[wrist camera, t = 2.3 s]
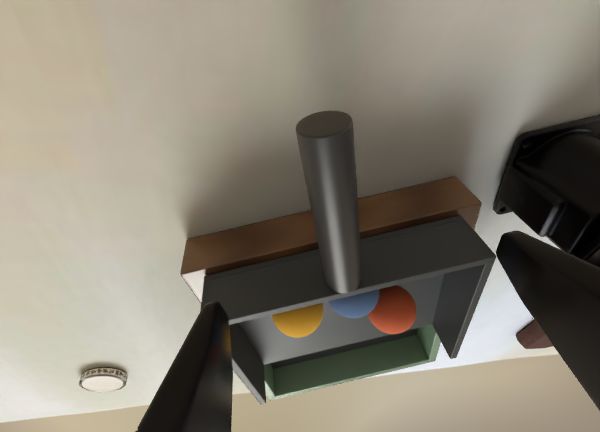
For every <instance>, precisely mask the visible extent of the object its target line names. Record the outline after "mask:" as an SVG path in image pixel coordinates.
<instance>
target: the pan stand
mask: <svg viewBox="0 0 600 432" xmlns="http://www.w3.org/2000/svg"><path fill="white" fill-rule="evenodd" d="M481 204H482V203H481V201H480V200H479V199H478V198H477V197H476V196H475V195H474V194H473V193H472V192H471V191H470V190H469V189H468V188H467V187H466V186H465V185H464V184H463V183H462V182H461V181H460V180H459V179H458V178H457V177H455V176H454V177H450V178H445V179H441V180H437V181H433V182H429V183H424V184H420V185H416V186H412V187H407V188H403V189H399V190H395V191H391V192H386V193H382V194H378V195H374V196H369V197H365V198H361V199H358V215H359V232H360V239H362V238H366V237H370V236H375V235H379V234H383V233H387V232H391V231H396V230H400V229H404V228H408V227H412V226H417V225H421V224H425V223H429V222H434V221H438V220H442V219H446V218H450V217H455V216H459V215H461V216H462V217H463V218H464V220H465V221H466V222H467V223H468V224H469V225H470V226H471V228H472V229H473V230H474V228H475V224H476V221H477V218H478V214H479V211H480V207H481ZM316 249H319V246H318V241H317V236H316V231H315V226H314V221H313V216H312V210H310V211H306V212H302V213H298V214H293V215H289V216H285V217H281V218H277V219H272V220H268V221H264V222H260V223H255V224H251V225H247V226H243V227H239V228H234V229H230V230H226V231H222V232H218V233H213V234H209V235H205V236H201V237H196V238H192V239H188V240H186V246H185V251H184V257H183V262H182V268H181V273H180V274H181V276H182V277H183V279H184V280H185V282H186V283H187V284H188V286H189V287H190V289H191V290H192V291H193V293H194V294H195V296H196V297H197V298H198V300H199V301H200V303H201V302H202V293H203V283H204V276H206V275H210V274H215V273H219V272H223V271H227V270H231V269H236V268H240V267H244V266H248V265H252V264H257V263H261V262H265V261H269V260H274V259H278V258H282V257H286V256H290V255H295V254H299V253H303V252H307V251H311V250H316Z"/></svg>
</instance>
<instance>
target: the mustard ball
mask: <svg viewBox="0 0 600 432" xmlns="http://www.w3.org/2000/svg"><path fill="white" fill-rule="evenodd" d="M322 317H323V303H319V304H315V305H311V306H307V307H302V308H298V309H294V310H290V311H286V312H281V313H277V314H273V315H272V318H273V321H274V323H275V325H276V327H277V328H278V329H279V330H280V331H281V332H282V333H284V334H285V335H287V336H290V337H296V338H299V337H305V336H307V335H309V334H311V333H312V332H314V331H315V330H316V329H317V328H318V326H319V325H320V323H321V321H322Z"/></svg>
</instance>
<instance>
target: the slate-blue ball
mask: <svg viewBox="0 0 600 432" xmlns="http://www.w3.org/2000/svg"><path fill="white" fill-rule="evenodd" d="M378 299H379V289H378V290H374V291H370V292H365V293H361V294H357V295H353V296H349V297H344V298H340V299H336V300H332V301H328V303H329V304H330V306H331V307H332V308H333V310H334V311H335V312H337V313H338V314H340V315H342V316H344V317H347V318H360V317H363V316H365V315H367V314H369V313H370V312H371V311H372V310H373V309H374V308H375V306H376V304H377V302H378Z"/></svg>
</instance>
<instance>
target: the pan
mask: <svg viewBox="0 0 600 432" xmlns="http://www.w3.org/2000/svg"><path fill="white" fill-rule="evenodd" d="M296 134H297V139H298V144H299V149H300V154H301V159H302V165H303V170H304V175H305V180H306V185H307V190H308V195H309V200H310V205H311V210H312V216H313V221H314V226H315V231H316V236H317V241H318V246H319V249H316V250H311V251H307V252H303V253H299V254H295V255H290V256H286V257H282V258H278V259H274V260H269V261H265V262H261V263H257V264H252V265H248V266H244V267H240V268H236V269H231V270H227V271H223V272H219V273H215V274H210V275H206V276H204V283H203V293H202V302H201V310H202V308H203V306H204V305H205V304H207V303H210V302H215V301H218V302H219V303H220V304H221V305H222V307H223V309H224V310H225V312H226V313H227V315H228V318H229V328H230V340H231V352H232V366H233V370H234V372H235V373H236V374H237V375H238V377H239V378H240V379H241V380H242V382H243V383H244V384H245V386H246V387H247V388H248V389H249V391H250V392H251V393H252V394H253V396H254V397H255V398H256V399H257V401H258V402H259V403H260V404H264V403H266V391H265V375H264V365H265V364H269V363H273V362H277V361H281V360H286V359H290V358H294V357H298V356H302V355H307V354H311V353H315V352H319V351H323V350H328V349H332V348H336V347H340V346H344V345H348V344H353V343H357V342H361V341H365V340H369V339H374V338H378V337H382V336H386V335H390V334H388V333H385V332H382V331H380V330H379V329H377V328H376V327H375V326H374V325H373V324H372V322H371V321H370V319H369V317H368V314H367V315H365V316H363V317H360V318H347V317H344V316H342V315H340V314H338V313H337V312H335V311H334V310H333V308H332V307H331V306H330V304H329V303H328V301H332V300H336V299H340V298H344V297H349V296H353V295H357V294H361V293H365V292H370V291H374V290H378V289H382V288H386V287H391V286H395V285H397V286H400V287H402V288H404V289H405V290H406V291H408V292H409V293H410V295H411V296H412V297H413V299H414V301H415V304H416V310H417V311H416V318H415V321H414V323H413V325H412V326H411V327H410V328H409V329H408V330H411V329H415V328H420V327H424V326H428V325H433V327H434V329H435V331H436V333H437V335H438V336H439V338H440V340H441V342H442V344H443V346H444V348H445V350H446V351H447V353H448V355H449V357H450V359H452V358H456V357H457V354H458V352H459V349H460V346H461V344H462V341H463V339H464V336H465V334H466V331H467V329H468V326H469V324H470V321H471V319H472V316H473V314H474V311H475V309H476V306H477V304H478V301H479V299H480V296H481V294H482V291H483V289H484V286H485V284H486V281H487V279H488V276H489V274H490V271H491V269H492V266H493V264H494V261H495V259H496V255H495V254H494V253H493V252H492V250H491V249H490V248H489V247H488V246H487V245H486V244H485V242H484V241H483V240H482V239H481V238H480V237H479V236H478V234H477V233H476V232H475V231H474V230H473V229H472V228H471V226H470V225H469V224H468V223H467V222H466V221H465V220H464V218H463V217H462V216H461V215H459V216H455V217H450V218H446V219H442V220H438V221H434V222H429V223H425V224H421V225H417V226H412V227H408V228H404V229H400V230H396V231H391V232H387V233H383V234H379V235H375V236H370V237H366V238H362V239H360V232H359V215H358V198H357V181H356V164H355V147H354V131H353V119H352V118H351V116H350V115H349V114H347V113H344V112H340V111H324V112H318V113H314V114H311V115H309V116H307V117H305V118H303V119H302V120H300V121H299V122H298V124H297V126H296ZM319 303H323V317H322V321H321V323H320V325H319V326H318V328H317V329H316V330H315V331H314V332H312V333H311V334H309V335H307V336H305V337H299V338H296V337H290V336H287V335H285V334H284V333H282V332H281V331H280V330H279V329H278V328H277V327H276V325H275V323H274V321H273V318H272V315H273V314H277V313H281V312H286V311H290V310H294V309H298V308H302V307H307V306H311V305H315V304H319ZM200 312H201V311H200ZM406 331H407V330H406Z"/></svg>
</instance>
